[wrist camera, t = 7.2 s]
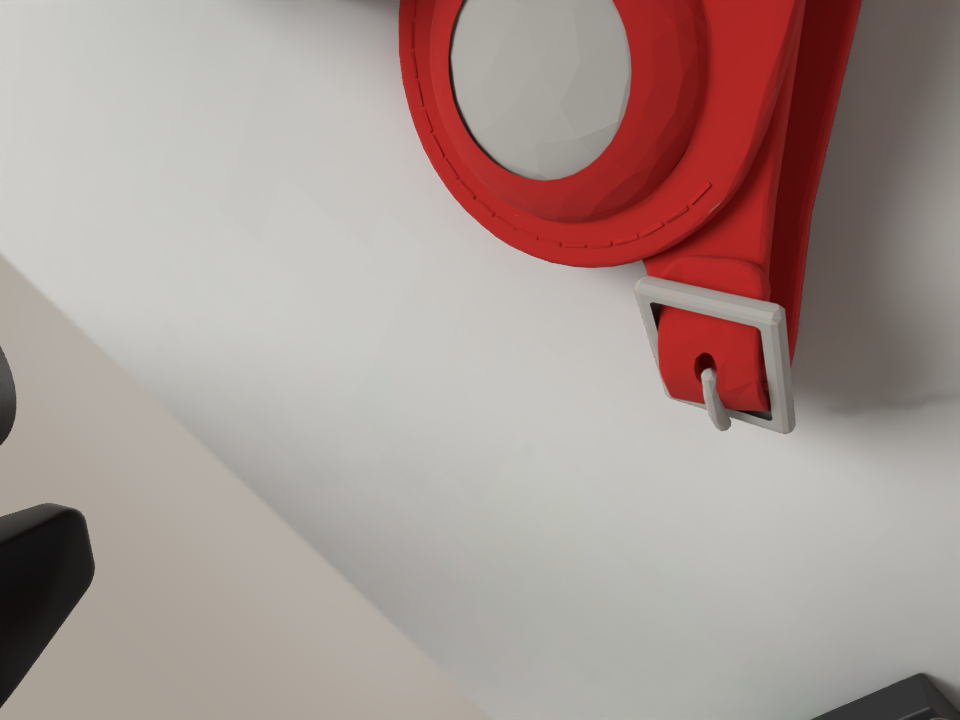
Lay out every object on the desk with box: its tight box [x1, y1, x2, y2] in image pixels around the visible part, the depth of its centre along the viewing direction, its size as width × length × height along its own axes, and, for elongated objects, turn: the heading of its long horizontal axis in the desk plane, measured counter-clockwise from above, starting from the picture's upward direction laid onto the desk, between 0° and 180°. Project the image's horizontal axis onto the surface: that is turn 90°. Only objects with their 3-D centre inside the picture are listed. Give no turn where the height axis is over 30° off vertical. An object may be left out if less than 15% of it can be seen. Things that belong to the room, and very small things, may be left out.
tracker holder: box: [399, 0, 862, 434], centre depth 15 cm, size 12×4×10 cm
